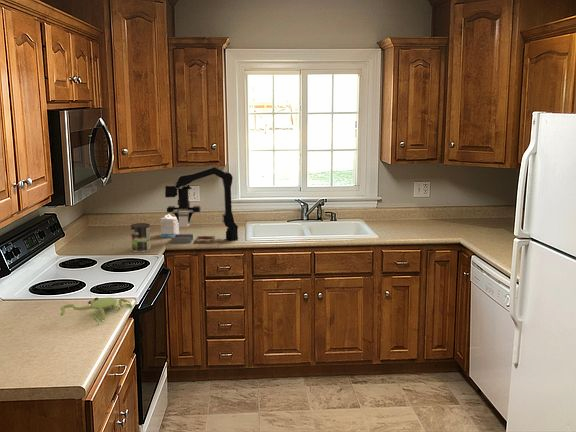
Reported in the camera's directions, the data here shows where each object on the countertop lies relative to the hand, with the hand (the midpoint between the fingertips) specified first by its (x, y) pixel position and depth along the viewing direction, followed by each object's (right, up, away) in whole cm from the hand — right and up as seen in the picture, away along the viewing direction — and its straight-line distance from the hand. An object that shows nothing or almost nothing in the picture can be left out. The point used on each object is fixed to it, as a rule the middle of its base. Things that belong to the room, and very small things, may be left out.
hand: (184, 223), depth 355 cm
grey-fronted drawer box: (0, -1, 0) cm, 1 cm away
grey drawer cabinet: (-1, -11, +2) cm, 11 cm away
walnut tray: (+12, -10, +2) cm, 16 cm away
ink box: (-11, -8, +16) cm, 21 cm away
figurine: (-14, -34, -117) cm, 123 cm away
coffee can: (-21, -14, -17) cm, 30 cm away
